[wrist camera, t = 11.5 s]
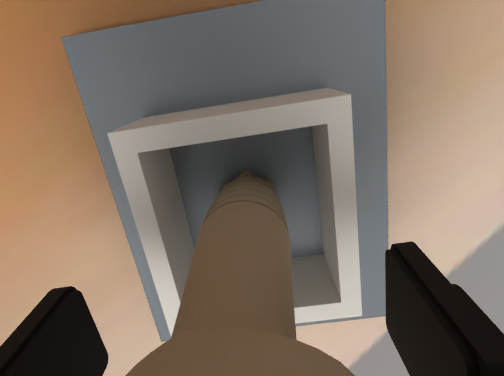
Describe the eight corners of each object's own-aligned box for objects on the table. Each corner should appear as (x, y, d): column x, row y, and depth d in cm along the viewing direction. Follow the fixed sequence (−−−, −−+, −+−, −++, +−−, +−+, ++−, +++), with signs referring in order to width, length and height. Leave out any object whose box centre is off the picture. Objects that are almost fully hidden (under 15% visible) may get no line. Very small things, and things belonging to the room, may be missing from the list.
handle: (192, 226, 20) (26, 607, 6) (228, 129, 18) (106, 349, 4) (265, 253, 20) (277, 661, 6) (308, 161, 18) (472, 462, 4)
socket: (76, 39, 18) (-8, 26, 12) (373, -15, 17) (433, -57, 11) (166, 325, 25) (140, 402, 19) (381, 300, 23) (420, 374, 18)
